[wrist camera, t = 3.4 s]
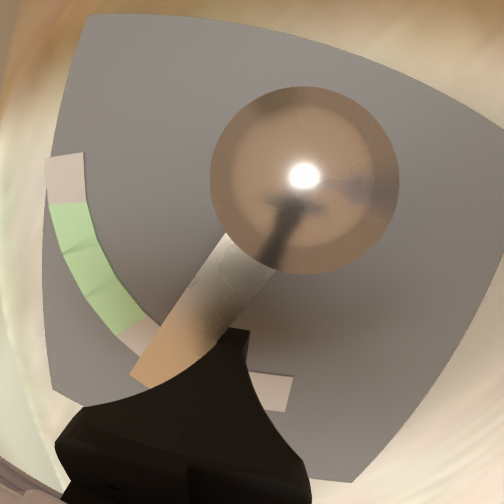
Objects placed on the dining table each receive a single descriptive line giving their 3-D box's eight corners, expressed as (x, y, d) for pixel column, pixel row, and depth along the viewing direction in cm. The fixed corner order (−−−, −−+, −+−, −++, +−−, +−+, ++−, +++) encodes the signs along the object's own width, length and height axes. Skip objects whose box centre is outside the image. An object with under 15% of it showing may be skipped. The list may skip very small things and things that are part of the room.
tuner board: (521, 150, 11) (535, 151, 9) (350, 472, 18) (351, 484, 17) (95, 20, 11) (83, 14, 10) (57, 379, 18) (48, 388, 17)
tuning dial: (286, 87, 10) (283, 50, 6) (383, 161, 11) (433, 169, 7) (123, 332, 14) (76, 387, 10) (198, 383, 15) (171, 450, 11)
